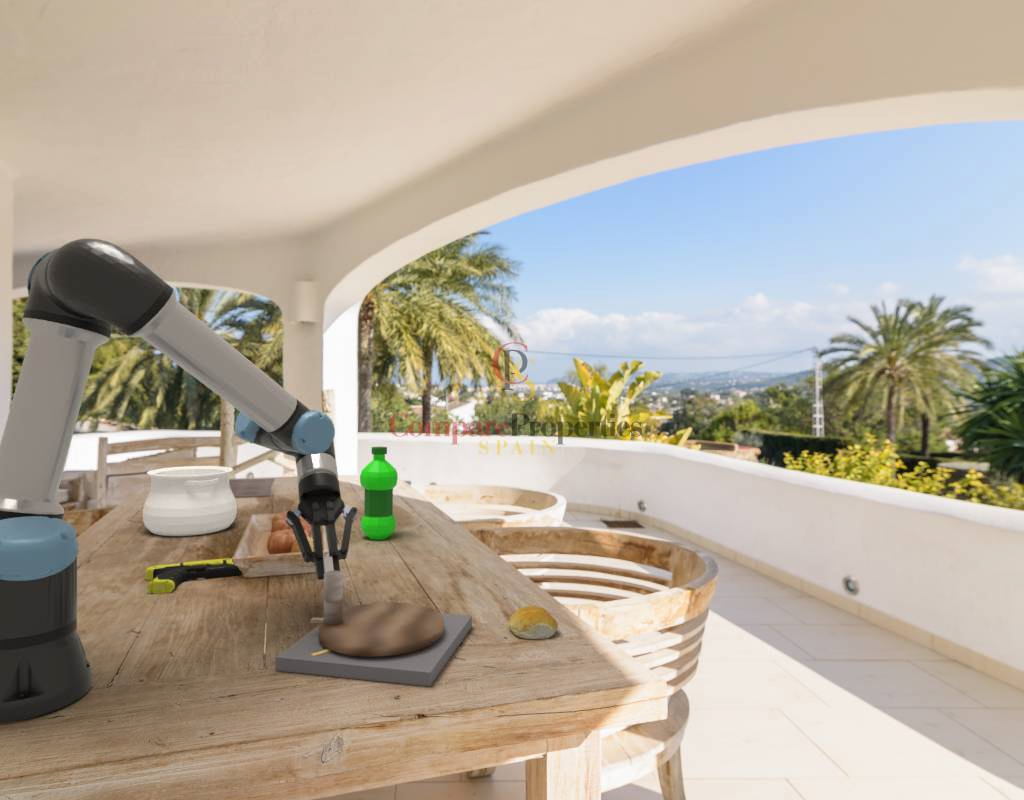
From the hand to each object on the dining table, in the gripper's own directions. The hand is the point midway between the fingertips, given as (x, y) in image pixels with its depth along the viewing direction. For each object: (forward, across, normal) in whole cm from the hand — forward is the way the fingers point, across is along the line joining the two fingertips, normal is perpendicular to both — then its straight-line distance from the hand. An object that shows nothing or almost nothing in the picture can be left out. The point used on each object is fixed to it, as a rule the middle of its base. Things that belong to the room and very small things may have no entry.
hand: (330, 594), depth 114 cm
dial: (+9, -7, +3) cm, 12 cm away
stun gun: (-24, +22, -36) cm, 48 cm away
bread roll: (+13, -33, +2) cm, 36 cm away
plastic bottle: (-43, -23, -53) cm, 72 cm away
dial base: (+11, -7, +1) cm, 13 cm away
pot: (-63, +25, -74) cm, 101 cm away
